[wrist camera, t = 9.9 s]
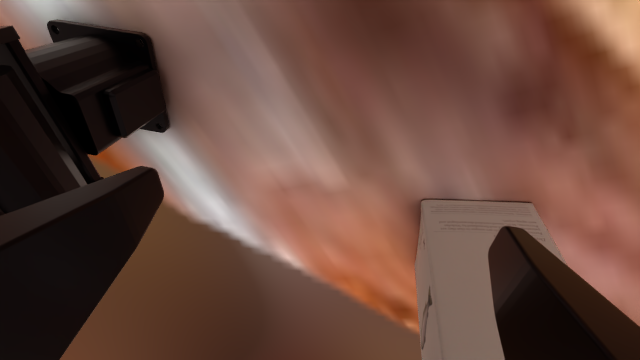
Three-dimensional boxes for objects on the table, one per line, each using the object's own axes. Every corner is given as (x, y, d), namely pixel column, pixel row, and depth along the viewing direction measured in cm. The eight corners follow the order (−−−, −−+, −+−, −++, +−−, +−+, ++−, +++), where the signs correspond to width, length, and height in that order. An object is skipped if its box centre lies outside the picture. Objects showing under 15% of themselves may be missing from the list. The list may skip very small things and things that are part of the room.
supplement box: (419, 196, 22) (445, 399, 12) (535, 200, 21) (676, 435, 11) (411, 264, 26) (426, 456, 16) (507, 271, 25) (588, 487, 15)
